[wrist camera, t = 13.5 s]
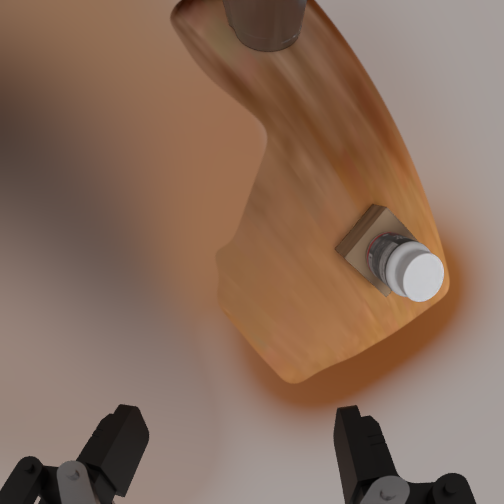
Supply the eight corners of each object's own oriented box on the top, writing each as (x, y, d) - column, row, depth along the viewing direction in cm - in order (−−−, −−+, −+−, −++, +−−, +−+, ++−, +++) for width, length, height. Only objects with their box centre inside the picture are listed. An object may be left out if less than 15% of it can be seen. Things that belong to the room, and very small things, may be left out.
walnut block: (334, 249, 38) (344, 258, 33) (372, 204, 36) (386, 207, 31) (373, 284, 39) (386, 297, 34) (408, 242, 37) (425, 250, 32)
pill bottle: (413, 244, 32) (457, 264, 22) (392, 284, 33) (429, 316, 24) (378, 222, 32) (418, 236, 22) (356, 264, 33) (387, 293, 23)
